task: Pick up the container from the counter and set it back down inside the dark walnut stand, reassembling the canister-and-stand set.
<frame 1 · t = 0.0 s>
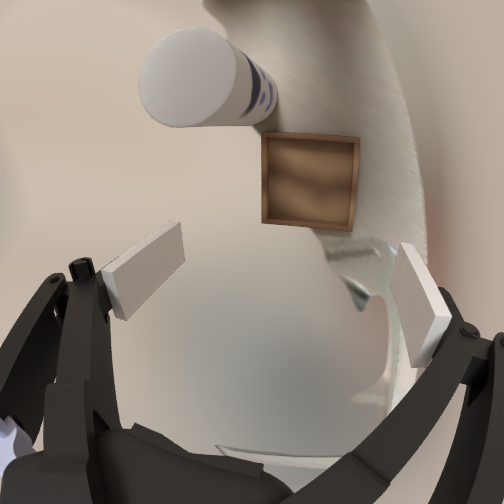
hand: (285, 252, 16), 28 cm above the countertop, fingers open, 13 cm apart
stand: (310, 178, 40), on the countertop
container: (245, 95, 37), on the countertop
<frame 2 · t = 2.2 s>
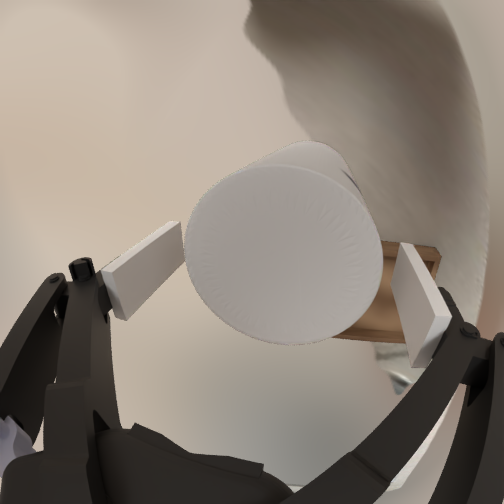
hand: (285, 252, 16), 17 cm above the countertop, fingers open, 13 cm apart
stand: (375, 289, 34), on the countertop
container: (309, 183, 30), on the countertop
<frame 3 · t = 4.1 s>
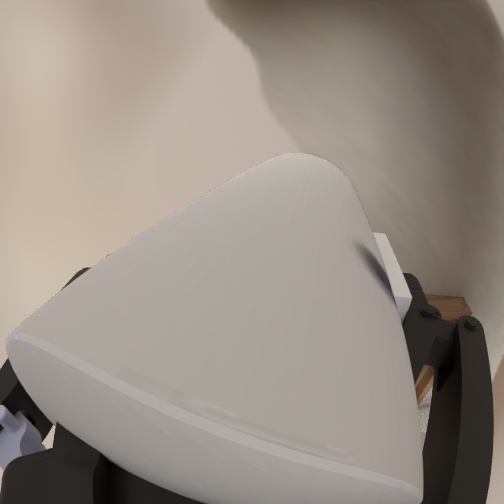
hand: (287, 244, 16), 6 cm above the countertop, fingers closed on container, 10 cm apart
stand: (382, 348, 25), on the countertop
container: (297, 214, 22), on the countertop, touching gripper
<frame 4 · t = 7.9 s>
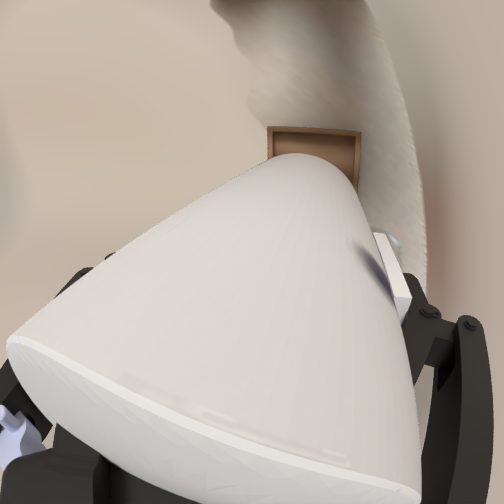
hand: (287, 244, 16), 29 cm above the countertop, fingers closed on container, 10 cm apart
stand: (313, 170, 42), on the countertop
container: (297, 215, 22), point 24 cm above the countertop, touching gripper
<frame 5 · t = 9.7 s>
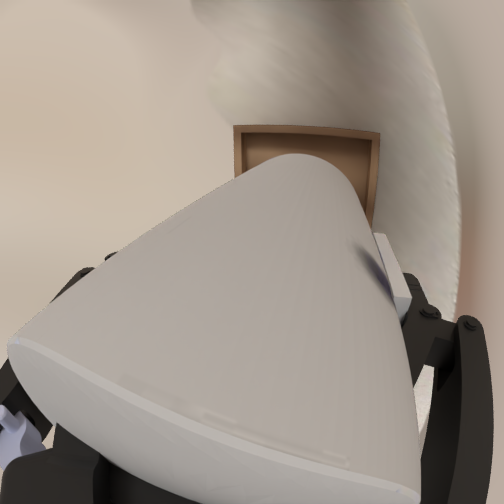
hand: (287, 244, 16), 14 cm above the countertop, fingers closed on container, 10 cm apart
stand: (305, 191, 28), on the countertop
container: (297, 215, 22), point 8 cm above the countertop, touching gripper
when the fingers open (8 cm above the countertop, at t = 11.6 s): container drops 1 cm, resting on stand.
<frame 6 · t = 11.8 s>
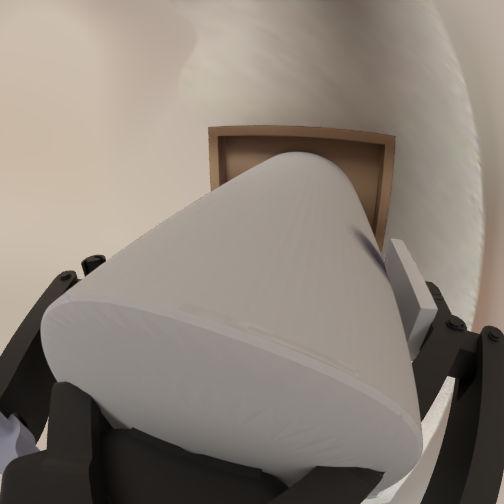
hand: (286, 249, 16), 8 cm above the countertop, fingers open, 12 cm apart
stand: (300, 208, 23), on the countertop
container: (299, 210, 23), point 1 cm above the countertop, touching stand
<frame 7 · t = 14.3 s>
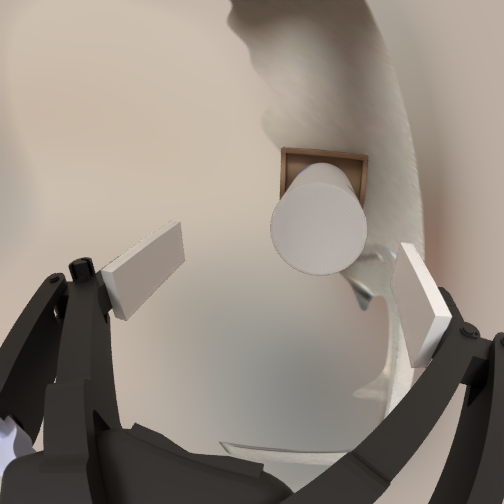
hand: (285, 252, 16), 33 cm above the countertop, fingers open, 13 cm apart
stand: (322, 190, 45), on the countertop
container: (322, 191, 45), point 1 cm above the countertop, touching stand
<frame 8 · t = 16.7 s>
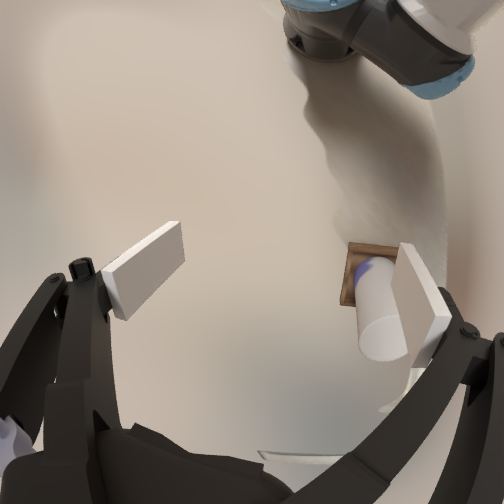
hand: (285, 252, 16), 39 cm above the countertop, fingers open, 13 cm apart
stand: (375, 275, 55), on the countertop
container: (375, 276, 55), point 1 cm above the countertop, touching stand
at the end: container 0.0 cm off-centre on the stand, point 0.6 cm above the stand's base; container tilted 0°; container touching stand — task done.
